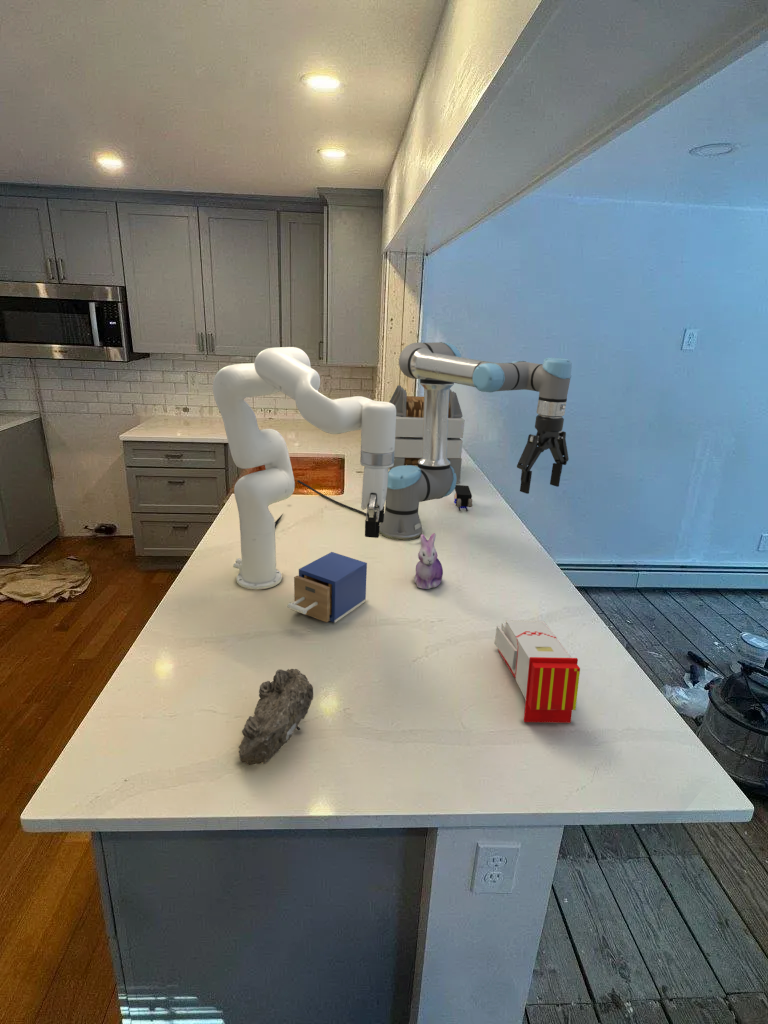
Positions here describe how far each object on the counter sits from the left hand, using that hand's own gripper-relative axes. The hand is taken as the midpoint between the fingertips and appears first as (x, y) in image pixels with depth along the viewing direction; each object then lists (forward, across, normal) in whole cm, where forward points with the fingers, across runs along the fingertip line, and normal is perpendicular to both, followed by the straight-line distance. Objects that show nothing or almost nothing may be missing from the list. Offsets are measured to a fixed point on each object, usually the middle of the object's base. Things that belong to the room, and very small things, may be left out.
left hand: (374, 529), depth 132 cm
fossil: (+26, +39, -12) cm, 48 cm away
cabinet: (+26, -9, -11) cm, 30 cm away
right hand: (-1, -38, +44) cm, 58 cm away
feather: (+26, -70, -42) cm, 85 cm away
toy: (+26, +16, +37) cm, 48 cm away
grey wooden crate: (+26, -143, +6) cm, 146 cm away
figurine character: (+26, -97, +25) cm, 103 cm away
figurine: (+26, -26, +14) cm, 40 cm away
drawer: (+25, -4, -14) cm, 29 cm away
